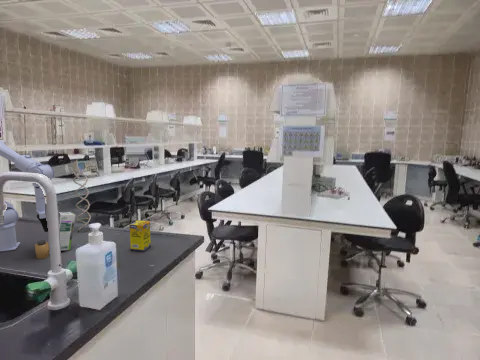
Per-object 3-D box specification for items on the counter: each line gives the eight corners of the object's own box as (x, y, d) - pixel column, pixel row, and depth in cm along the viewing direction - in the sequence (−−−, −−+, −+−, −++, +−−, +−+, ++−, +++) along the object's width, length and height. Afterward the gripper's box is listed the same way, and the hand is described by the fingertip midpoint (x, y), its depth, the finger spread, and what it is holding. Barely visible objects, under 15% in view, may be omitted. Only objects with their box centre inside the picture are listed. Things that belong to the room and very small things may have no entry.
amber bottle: (35, 259, 116) (33, 244, 114) (37, 255, 119) (35, 240, 118) (48, 257, 117) (47, 242, 116) (50, 253, 121) (49, 238, 120)
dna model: (75, 233, 143) (69, 168, 138) (78, 229, 149) (73, 166, 144) (91, 232, 145) (86, 168, 139) (93, 228, 151) (89, 166, 146)
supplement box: (144, 252, 123) (142, 225, 121) (130, 250, 124) (128, 224, 122) (151, 246, 129) (150, 220, 127) (138, 245, 130) (136, 219, 128)
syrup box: (55, 251, 120) (61, 214, 120) (48, 247, 123) (54, 211, 123) (70, 250, 124) (76, 214, 125) (63, 246, 128) (69, 211, 128)
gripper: (53, 200, 114) (57, 236, 116) (58, 192, 127) (62, 224, 129) (30, 202, 111) (35, 238, 113) (38, 193, 124) (42, 226, 127)
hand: (48, 231), depth 121 cm, fingers closed
